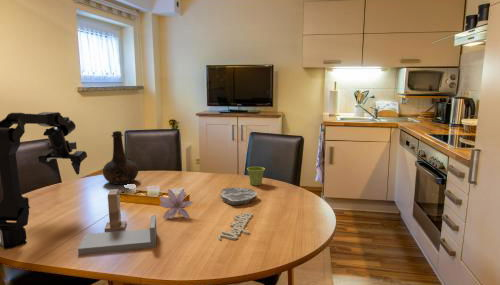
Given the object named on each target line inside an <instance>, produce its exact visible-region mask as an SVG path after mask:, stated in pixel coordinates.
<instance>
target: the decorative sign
mask: <svg viewBox="0 0 500 285" xmlns="http://www.w3.org/2000/svg"><path fill="white" fill-rule="evenodd" d="M252 216H253V213H251V212H247V213H246V211H244V212H242V214H241V215H240V214H235V217H233V219H234V220H233V221H231V222H230V231H225V230H224V229H223V230H221V234H218V237H217V239H218V241H222V238H224V239H228V240H234V241H235V240H238V237H240V236H241V233H243V234H244V235H249V234H250V231H249V230H247V229H245V228H246V226H247V224H248V222H249V221H250V220H251V218H252ZM235 221H236V222H235Z"/></svg>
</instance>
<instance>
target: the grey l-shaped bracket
mask: <svg viewBox="0 0 500 285" xmlns="http://www.w3.org/2000/svg"><path fill="white" fill-rule="evenodd" d="M157 234H158V233H157V215H156V214H155V215H152V214H151V215H150V223H149V228H143V229H141V228H140V229H131V230H120V231H108V232H99V233H98V232H97V233H86V234H85V235H84V237H83V239H82V241H81V242H80V244H79V246H78V248H77V253H78V255H79V256H80V255H88V254H97V253H98V254H99V253H108V252H119V251H121V252H122V251H128V250H129V251H130V250H138V249H149V248H156V247H157V246H156V245H157Z"/></svg>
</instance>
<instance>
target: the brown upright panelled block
mask: <svg viewBox="0 0 500 285" xmlns="http://www.w3.org/2000/svg"><path fill="white" fill-rule="evenodd" d="M120 198H121V197H120V189H118V188H117V189H116V188H115V189H109V191H108V192H107V205H108V217H109V220H108V222H106V224H105V227H104V233H106V232H118V231H126V228H127V220H122V215H121V214H122V213H121V212H122V211H121V200H120Z"/></svg>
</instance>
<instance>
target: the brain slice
mask: <svg viewBox="0 0 500 285" xmlns="http://www.w3.org/2000/svg"><path fill="white" fill-rule="evenodd" d="M257 195H258V192H257V191H254V189H252V188H248V187H247V188H245V187H244V188H243V187H226V188H222V189H221V194H220V197H221V200H222V201H223V202H224V203H226V202H227V204H228V205H230V206H238V205H246V204H249V203H250V202H251V201H252V200H253V199H255V198H256V197H257Z"/></svg>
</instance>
